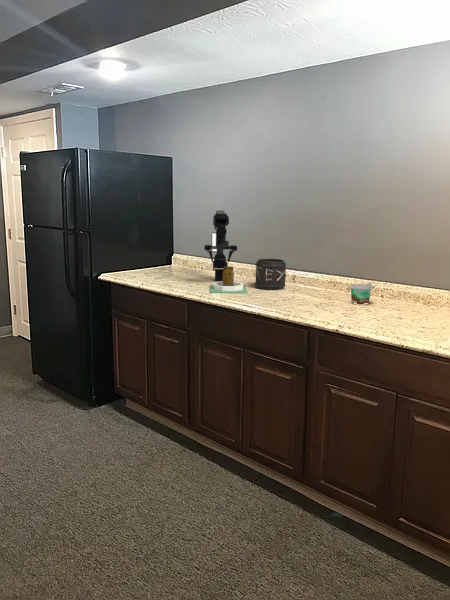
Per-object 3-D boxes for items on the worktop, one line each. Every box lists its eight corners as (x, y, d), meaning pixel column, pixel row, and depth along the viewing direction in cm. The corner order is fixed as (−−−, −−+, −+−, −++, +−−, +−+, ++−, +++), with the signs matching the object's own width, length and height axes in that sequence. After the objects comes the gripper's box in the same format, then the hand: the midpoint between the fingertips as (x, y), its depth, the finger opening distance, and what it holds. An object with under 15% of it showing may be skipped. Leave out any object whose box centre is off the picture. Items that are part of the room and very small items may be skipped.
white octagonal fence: (213, 285, 295) (213, 281, 295) (241, 286, 296) (241, 281, 295) (213, 290, 280) (213, 286, 279) (243, 291, 280) (243, 286, 280)
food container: (357, 306, 250) (358, 285, 248) (348, 303, 255) (350, 283, 253) (376, 304, 255) (378, 284, 253) (368, 301, 261) (369, 282, 259)
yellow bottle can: (228, 286, 293) (229, 265, 291) (238, 288, 287) (239, 267, 285) (219, 288, 289) (219, 266, 286) (229, 290, 282) (229, 268, 280)
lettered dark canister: (249, 289, 290) (250, 261, 287) (259, 284, 306) (260, 257, 303) (280, 291, 283) (281, 263, 280) (289, 286, 300) (290, 259, 296)
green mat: (209, 285, 298) (209, 284, 298) (244, 286, 299) (244, 285, 299) (210, 292, 277) (210, 291, 277) (247, 293, 278) (247, 292, 277)
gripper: (204, 236, 287) (204, 264, 291) (238, 236, 288) (237, 264, 291) (204, 234, 298) (204, 261, 301) (236, 235, 299) (236, 262, 302)
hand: (220, 262), depth 299 cm, fingers open, 9 cm apart
